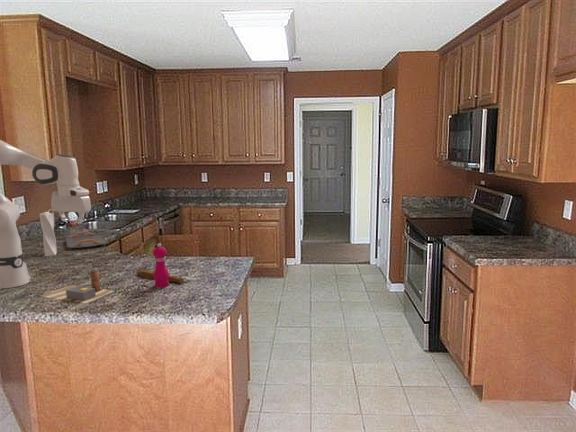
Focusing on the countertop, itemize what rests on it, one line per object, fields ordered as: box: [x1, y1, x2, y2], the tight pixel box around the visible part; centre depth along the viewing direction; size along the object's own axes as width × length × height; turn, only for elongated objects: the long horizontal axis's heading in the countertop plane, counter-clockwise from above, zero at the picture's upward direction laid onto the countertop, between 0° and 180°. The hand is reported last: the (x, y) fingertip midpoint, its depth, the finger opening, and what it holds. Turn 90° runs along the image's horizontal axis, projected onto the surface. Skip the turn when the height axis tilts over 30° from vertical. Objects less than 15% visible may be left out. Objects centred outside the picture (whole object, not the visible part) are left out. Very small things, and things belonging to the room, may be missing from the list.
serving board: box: [65, 230, 107, 251], centre depth 295 cm, size 39×23×6 cm, turn 29°
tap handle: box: [136, 269, 185, 285], centre depth 215 cm, size 3×3×30 cm
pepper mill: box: [152, 243, 170, 288], centre depth 203 cm, size 7×7×20 cm
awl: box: [89, 262, 101, 292], centre depth 194 cm, size 3×3×13 cm
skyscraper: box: [38, 208, 58, 257], centre depth 265 cm, size 8×8×28 cm
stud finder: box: [66, 285, 96, 301], centre depth 187 cm, size 10×6×4 cm, turn 69°
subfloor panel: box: [40, 284, 115, 304], centre depth 192 cm, size 26×16×1 cm, turn 68°
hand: (72, 221), depth 199 cm, fingers open, 8 cm apart
